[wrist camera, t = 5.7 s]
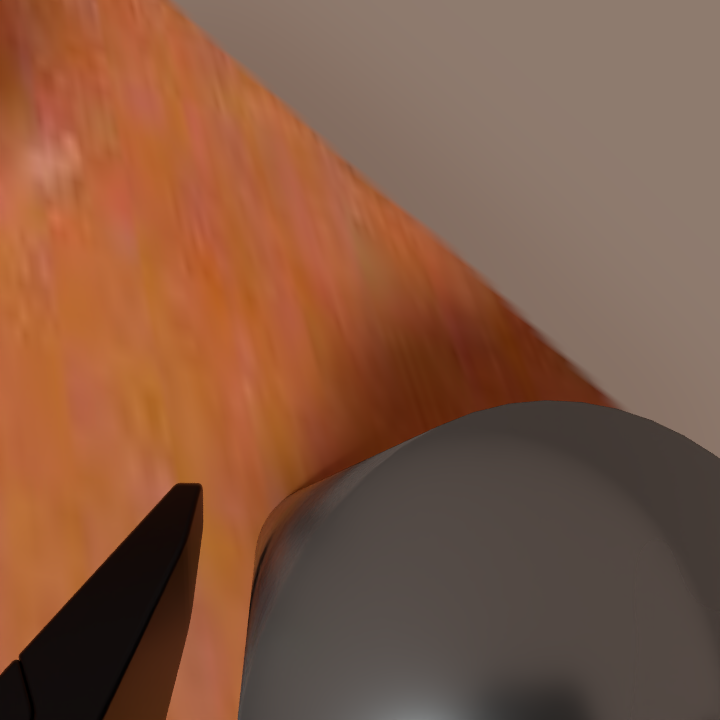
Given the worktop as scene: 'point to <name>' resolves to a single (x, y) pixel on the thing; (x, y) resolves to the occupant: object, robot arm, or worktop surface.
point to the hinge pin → (496, 577)
